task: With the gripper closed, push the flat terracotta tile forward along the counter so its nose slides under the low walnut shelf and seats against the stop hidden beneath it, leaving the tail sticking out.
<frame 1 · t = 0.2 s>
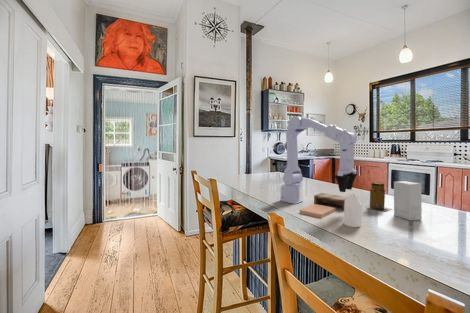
hand: (345, 190, 108), 10 cm above the kitchen island, tool pointing down, fingers open, 7 cm apart
tile: (317, 213, 110), on the kitchen island
skincare box: (406, 217, 102), on the kitchen island
shelf: (332, 205, 121), on the kitchen island
condiment: (378, 209, 115), on the kitchen island
white pointed crystal: (352, 225, 93), on the kitchen island
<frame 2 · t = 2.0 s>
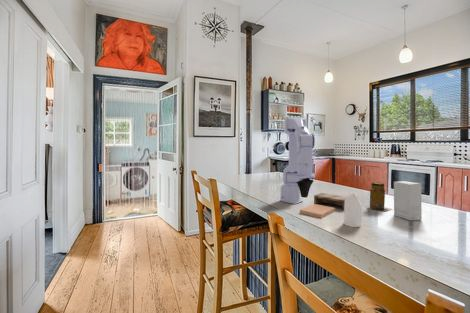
hand: (304, 197, 100), 9 cm above the kitchen island, tool pointing down, fingers closed
nothing on the kitchen island moved.
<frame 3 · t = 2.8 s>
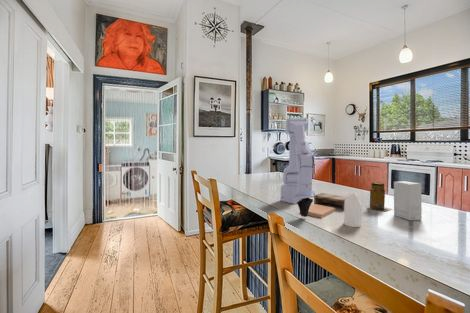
hand: (304, 216, 101), 1 cm above the kitchen island, tool pointing down, fingers closed
nothing on the kitchen island moved.
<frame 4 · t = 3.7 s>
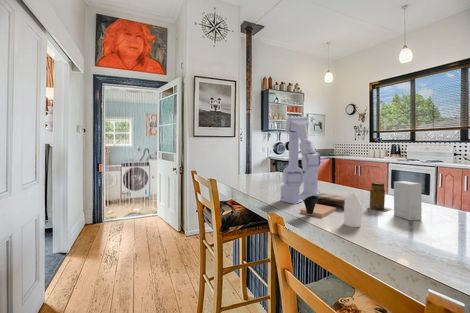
hand: (309, 213, 104), 1 cm above the kitchen island, tool pointing down, fingers closed
tile: (318, 212, 110), on the kitchen island, touching gripper
everything else where it was.
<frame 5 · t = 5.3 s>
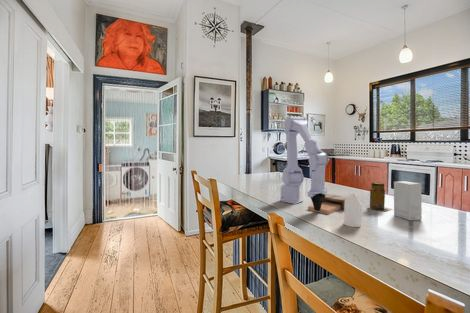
hand: (317, 210, 109), 1 cm above the kitchen island, tool pointing down, fingers closed
tile: (325, 209, 115), on the kitchen island, touching gripper
everything else where it was.
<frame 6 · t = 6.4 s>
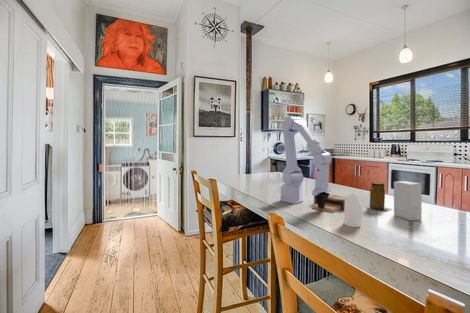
hand: (321, 208, 112), 1 cm above the kitchen island, tool pointing down, fingers closed
tile: (329, 208, 117), on the kitchen island
everything else where it was.
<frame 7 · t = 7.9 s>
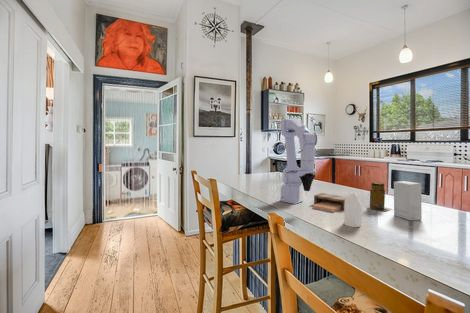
hand: (306, 190, 108), 10 cm above the kitchen island, tool pointing down, fingers closed
nothing on the kitchen island moved.
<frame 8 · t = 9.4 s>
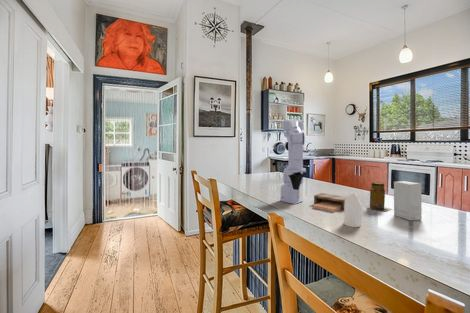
hand: (295, 189, 111), 10 cm above the kitchen island, tool pointing down, fingers closed
nothing on the kitchen island moved.
at the end: tile 0.6 cm from the target spot, on the kitchen island; tile tilted 0° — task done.
